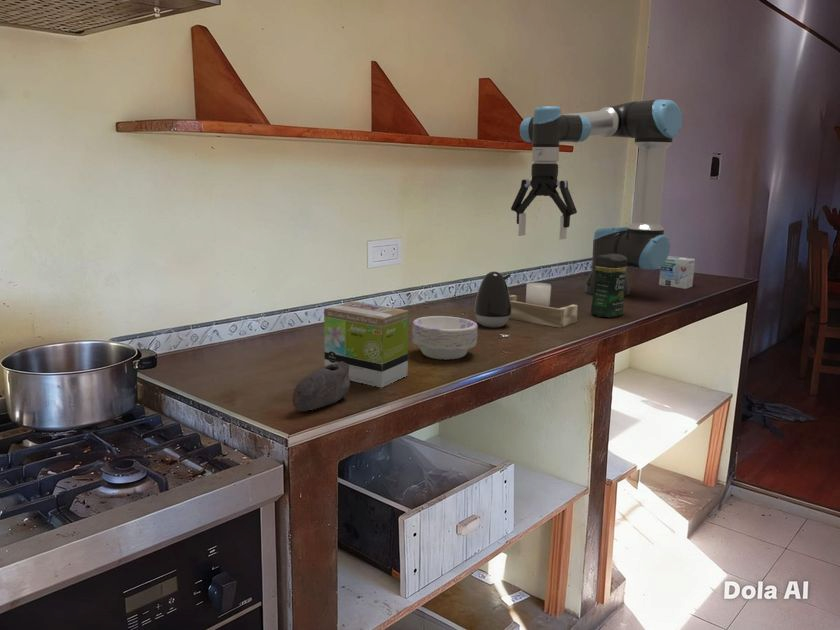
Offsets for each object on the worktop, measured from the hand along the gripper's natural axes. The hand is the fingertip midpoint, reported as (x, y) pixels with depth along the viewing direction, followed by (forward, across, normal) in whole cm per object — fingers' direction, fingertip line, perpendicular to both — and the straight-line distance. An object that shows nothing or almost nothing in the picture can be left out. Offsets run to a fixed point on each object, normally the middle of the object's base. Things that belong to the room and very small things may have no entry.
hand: (541, 237), depth 205 cm
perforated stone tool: (+22, +11, -98) cm, 101 cm away
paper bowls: (+23, +6, -54) cm, 59 cm away
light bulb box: (+25, +12, +82) cm, 87 cm away
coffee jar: (+24, +15, +14) cm, 32 cm away
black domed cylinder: (+23, -2, -21) cm, 32 cm away
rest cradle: (+23, +2, -6) cm, 24 cm away
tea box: (+22, +5, -80) cm, 83 cm away
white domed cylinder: (+23, +2, -4) cm, 24 cm away
